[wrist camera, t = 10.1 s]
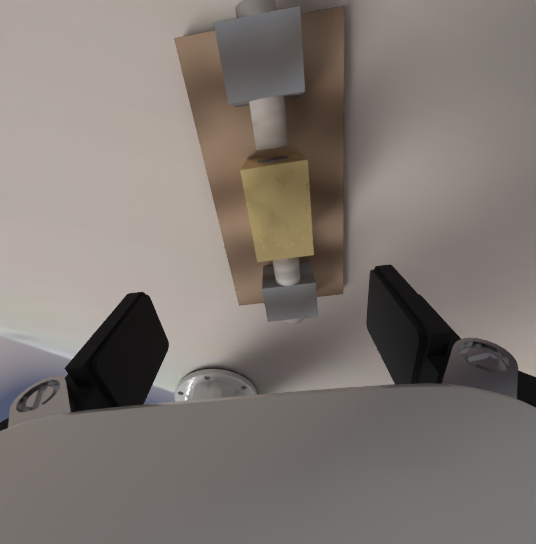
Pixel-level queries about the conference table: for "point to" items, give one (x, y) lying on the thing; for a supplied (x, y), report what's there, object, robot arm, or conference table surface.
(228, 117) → the shaft stand
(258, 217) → the block
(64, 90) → the conference table surface
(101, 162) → the conference table surface
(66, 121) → the conference table surface
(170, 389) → the conference table surface
